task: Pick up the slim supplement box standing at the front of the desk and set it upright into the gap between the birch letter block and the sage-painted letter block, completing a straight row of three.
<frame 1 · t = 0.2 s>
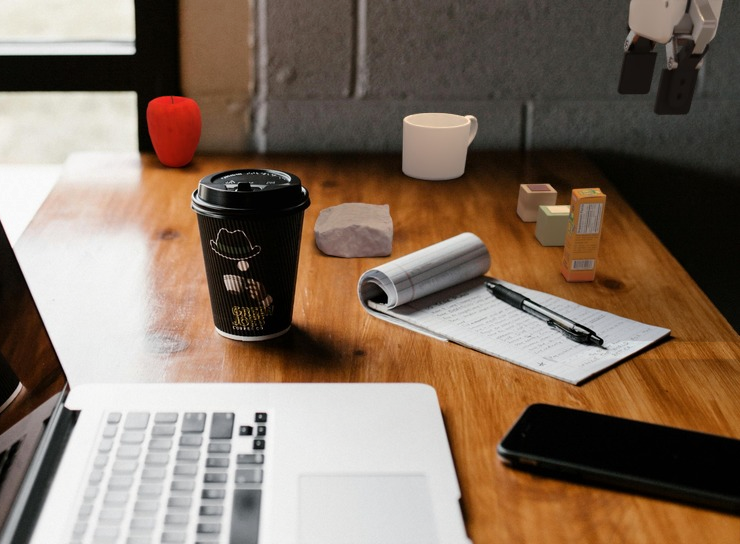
hand: (650, 103, 85), 20 cm above the table, tool pointing down, fingers open, 9 cm apart
supplement box: (575, 278, 100), on the table
stone block: (351, 243, 111), on the table
far letter block: (534, 217, 119), on the table
apple: (177, 165, 144), on the table
mug: (439, 172, 139), on the table
near letter block: (554, 240, 111), on the table
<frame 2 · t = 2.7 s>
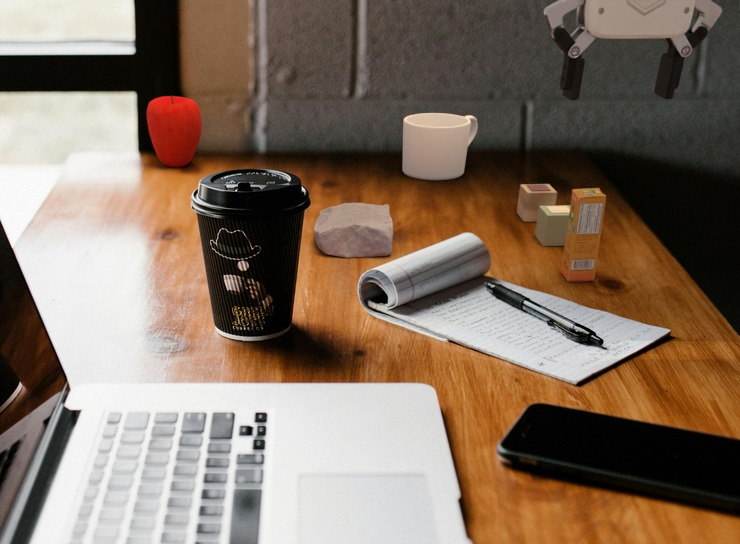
hand: (616, 97, 88), 20 cm above the table, tool pointing down, fingers open, 9 cm apart
nothing on the table moved.
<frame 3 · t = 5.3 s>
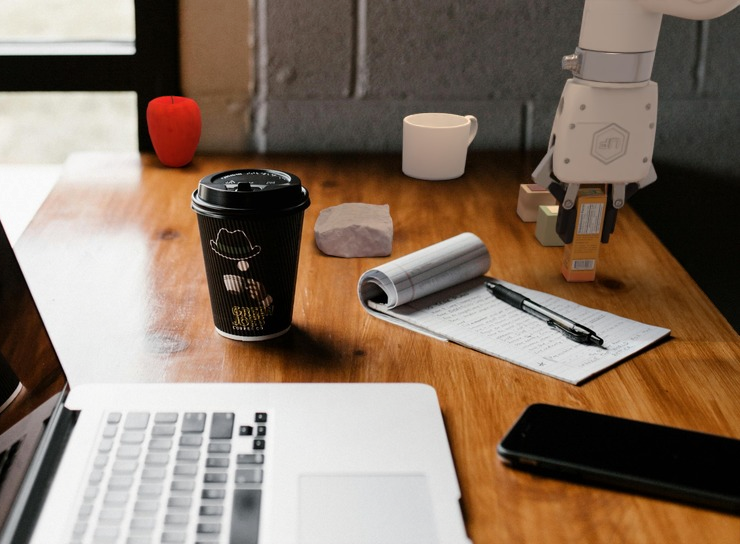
hand: (582, 238, 98), 5 cm above the table, tool pointing down, fingers closed on supplement box, 3 cm apart
supplement box: (575, 278, 100), on the table, touching gripper
everything else where it was.
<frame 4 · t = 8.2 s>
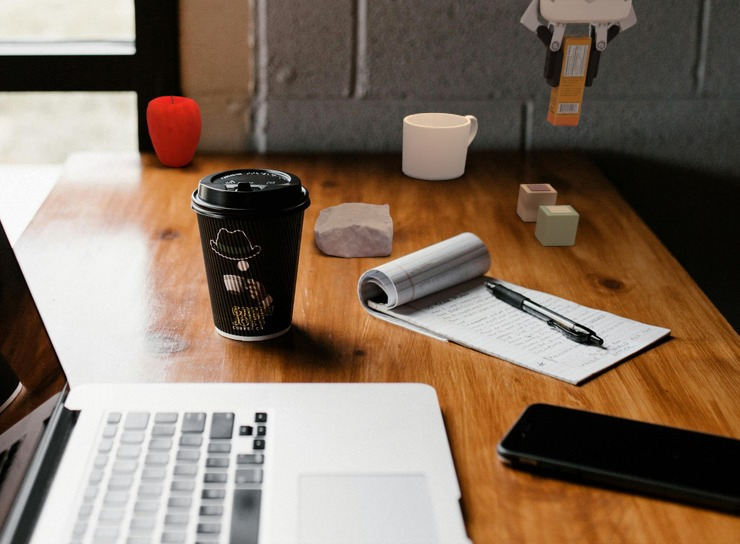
hand: (568, 83, 104), 18 cm above the table, tool pointing down, fingers closed on supplement box, 3 cm apart
supplement box: (560, 125, 107), point 14 cm above the table, touching gripper
everything else where it was.
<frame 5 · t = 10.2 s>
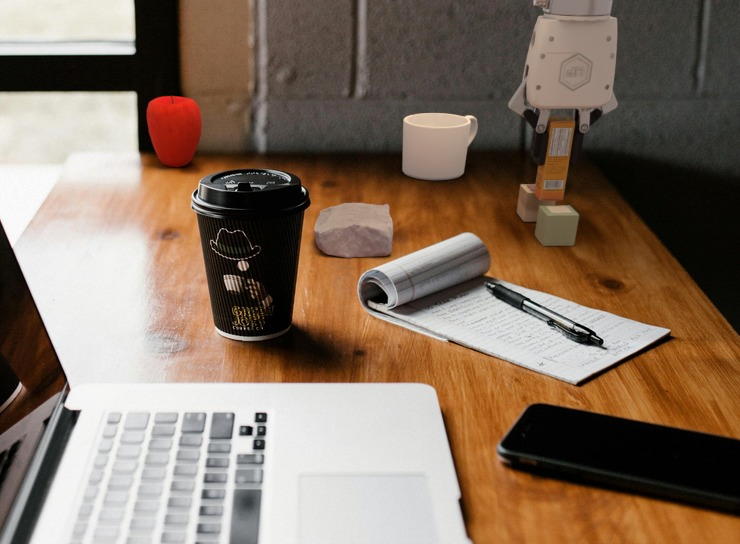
hand: (554, 161, 110), 9 cm above the table, tool pointing down, fingers closed on supplement box, 3 cm apart
supplement box: (546, 198, 113), point 4 cm above the table, touching gripper
everything else where it was.
when the fingers open (5 cm above the table, at t = 11.5 s): supplement box stays where it is, on the table.
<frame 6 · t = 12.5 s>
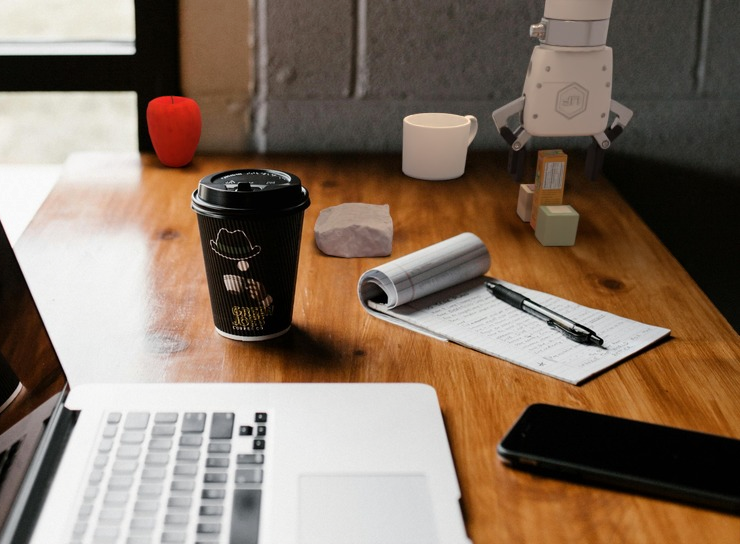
hand: (552, 178, 111), 7 cm above the table, tool pointing down, fingers open, 9 cm apart
supplement box: (542, 229, 115), on the table
everything else where it was.
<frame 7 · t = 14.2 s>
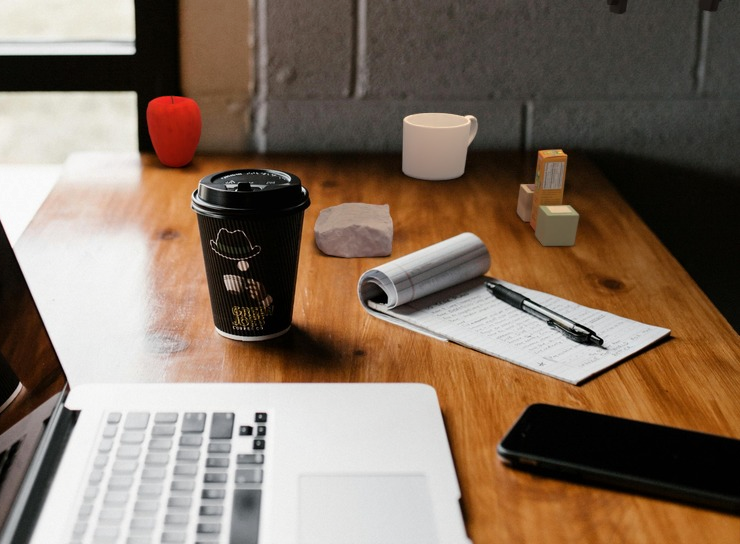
hand: (662, 11, 92), 27 cm above the table, tool pointing down, fingers open, 9 cm apart
nothing on the table moved.
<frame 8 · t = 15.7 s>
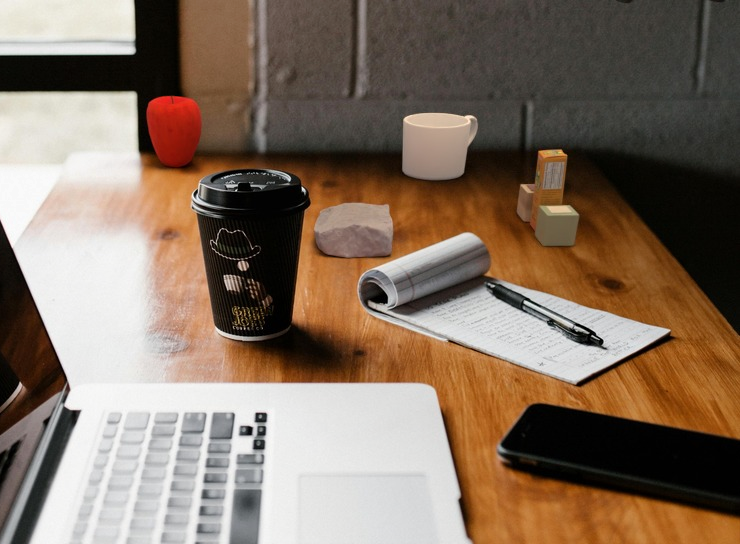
hand: (669, 1, 90), 28 cm above the table, tool pointing down, fingers open, 9 cm apart
nothing on the table moved.
at the end: supplement box 0.2 cm from the target spot on the table beside the far letter block, on the table; supplement box tilted 0°; near letter block moved 0.0 cm from its start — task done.
